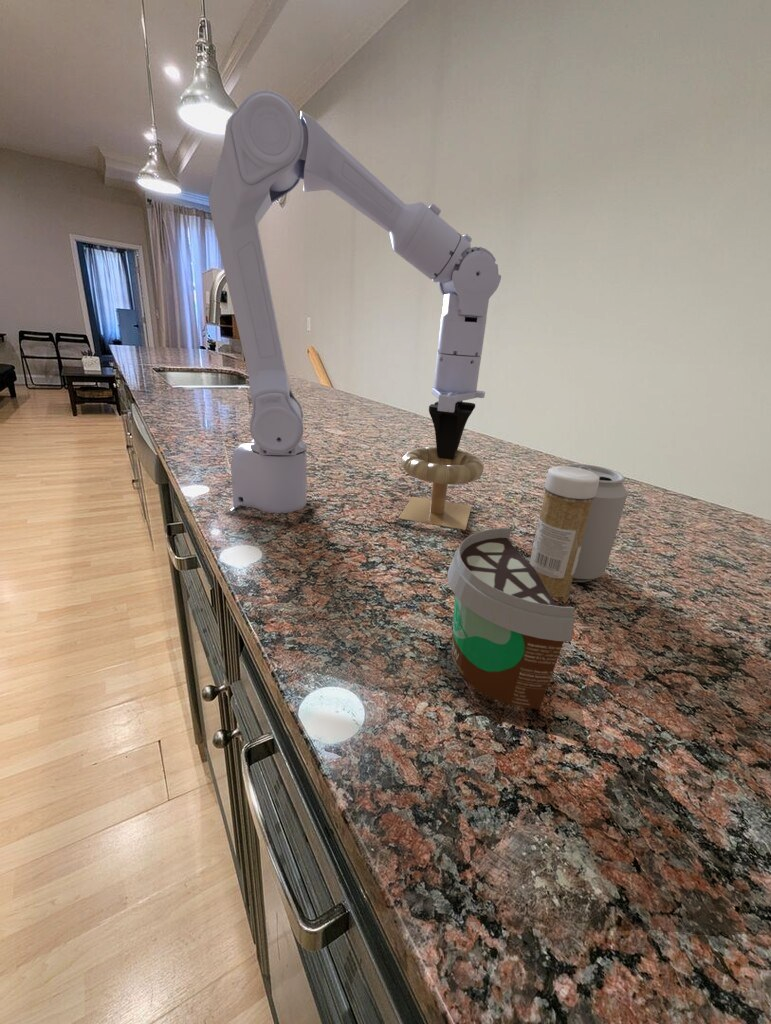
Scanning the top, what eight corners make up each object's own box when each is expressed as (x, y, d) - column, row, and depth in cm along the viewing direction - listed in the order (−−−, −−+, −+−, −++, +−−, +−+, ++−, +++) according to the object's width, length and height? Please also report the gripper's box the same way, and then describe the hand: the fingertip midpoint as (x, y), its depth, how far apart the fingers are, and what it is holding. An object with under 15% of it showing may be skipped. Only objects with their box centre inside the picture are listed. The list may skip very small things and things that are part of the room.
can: (571, 591, 47) (599, 485, 43) (521, 559, 53) (541, 463, 49) (617, 578, 51) (648, 478, 46) (565, 549, 57) (588, 458, 52)
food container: (424, 623, 41) (436, 523, 37) (489, 623, 41) (508, 525, 37) (454, 739, 29) (476, 612, 25) (544, 737, 30) (579, 613, 26)
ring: (392, 479, 57) (393, 460, 56) (411, 457, 66) (412, 442, 65) (478, 492, 54) (480, 473, 53) (484, 468, 64) (487, 451, 63)
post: (397, 526, 60) (401, 482, 58) (411, 503, 68) (415, 464, 66) (464, 537, 58) (471, 493, 56) (470, 513, 66) (477, 473, 64)
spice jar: (577, 600, 46) (611, 475, 41) (548, 612, 43) (581, 482, 38) (541, 579, 49) (568, 462, 44) (512, 589, 47) (538, 467, 42)
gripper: (486, 360, 51) (470, 473, 56) (493, 354, 64) (479, 447, 69) (425, 354, 52) (415, 465, 58) (444, 351, 65) (434, 441, 71)
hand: (446, 455), depth 63 cm, fingers closed on ring, 2 cm apart
